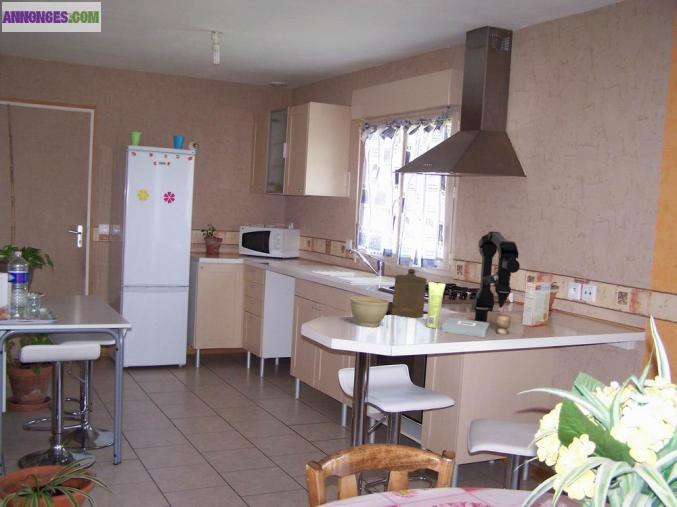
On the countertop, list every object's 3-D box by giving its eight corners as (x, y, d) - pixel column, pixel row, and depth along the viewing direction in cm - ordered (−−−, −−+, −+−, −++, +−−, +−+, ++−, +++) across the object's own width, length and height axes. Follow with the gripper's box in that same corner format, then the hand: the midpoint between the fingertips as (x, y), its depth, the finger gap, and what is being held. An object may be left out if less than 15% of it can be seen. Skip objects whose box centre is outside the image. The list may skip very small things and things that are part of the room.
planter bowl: (343, 320, 304) (346, 295, 303) (379, 322, 308) (382, 297, 307) (354, 328, 288) (356, 301, 287) (391, 329, 292) (394, 303, 291)
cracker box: (536, 323, 348) (541, 280, 346) (547, 325, 344) (552, 282, 342) (520, 324, 338) (525, 281, 337) (531, 327, 334) (536, 283, 332)
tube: (431, 325, 311) (436, 281, 310) (441, 327, 308) (445, 283, 306) (423, 326, 307) (428, 282, 306) (433, 328, 304) (438, 283, 302)
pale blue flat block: (448, 323, 320) (449, 317, 320) (489, 329, 316) (489, 322, 315) (441, 331, 299) (442, 324, 299) (484, 337, 294) (485, 330, 294)
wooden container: (415, 312, 345) (420, 268, 343) (427, 318, 331) (432, 271, 329) (387, 311, 341) (391, 266, 339) (397, 317, 327) (402, 269, 325)
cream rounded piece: (495, 331, 311) (497, 313, 310) (508, 333, 309) (511, 315, 309) (494, 334, 305) (496, 315, 305) (508, 335, 304) (510, 317, 303)
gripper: (484, 266, 315) (480, 300, 316) (485, 270, 297) (481, 306, 298) (510, 268, 313) (506, 303, 314) (512, 273, 295) (508, 310, 296)
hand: (500, 305), depth 306 cm, fingers open, 9 cm apart
